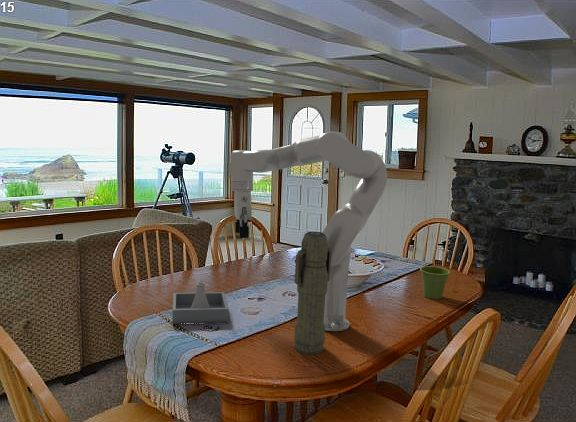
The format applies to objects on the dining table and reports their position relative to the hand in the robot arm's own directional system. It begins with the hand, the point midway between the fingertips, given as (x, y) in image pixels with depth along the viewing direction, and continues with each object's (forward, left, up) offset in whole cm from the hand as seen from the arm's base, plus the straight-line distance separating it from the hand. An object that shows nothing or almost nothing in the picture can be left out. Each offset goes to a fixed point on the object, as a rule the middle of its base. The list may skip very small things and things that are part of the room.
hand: (242, 235), depth 182 cm
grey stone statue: (-35, -17, -27) cm, 48 cm away
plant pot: (+10, -80, -27) cm, 85 cm away
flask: (-4, +14, -26) cm, 30 cm away
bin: (-4, +14, -27) cm, 31 cm away
